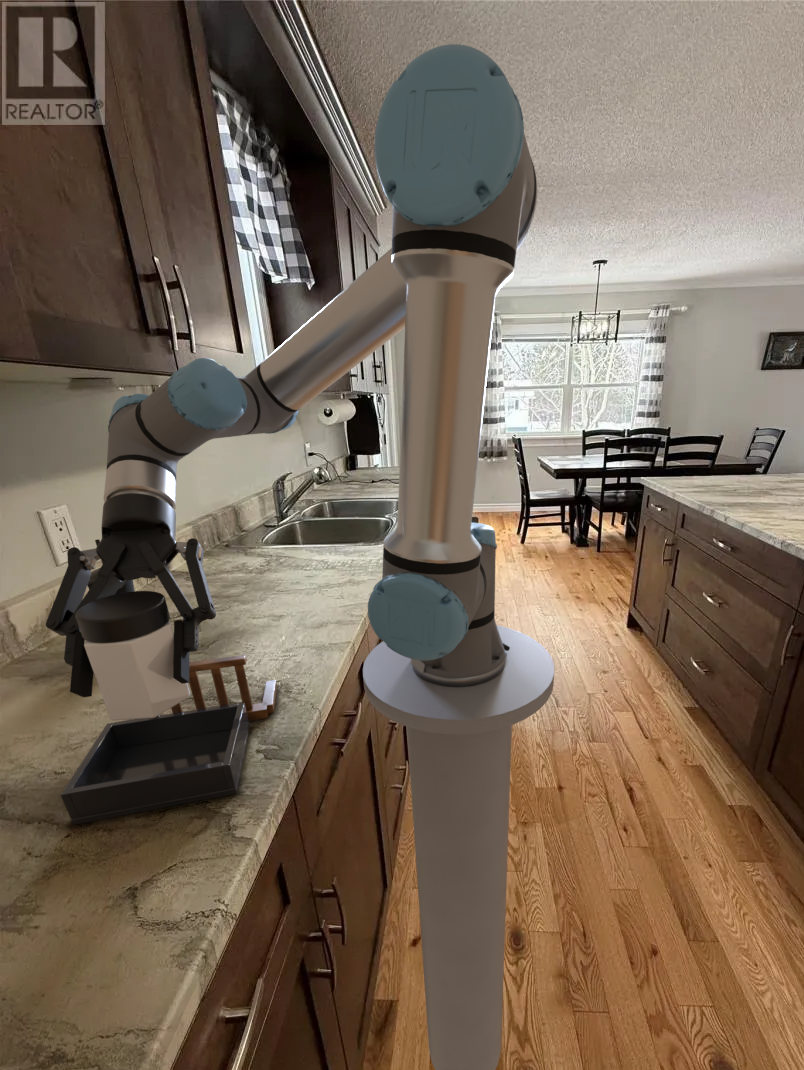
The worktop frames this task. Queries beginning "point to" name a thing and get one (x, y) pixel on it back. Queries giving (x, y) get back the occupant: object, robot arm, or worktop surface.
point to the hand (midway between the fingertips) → (132, 686)
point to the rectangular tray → (159, 763)
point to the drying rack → (215, 666)
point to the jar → (132, 653)
